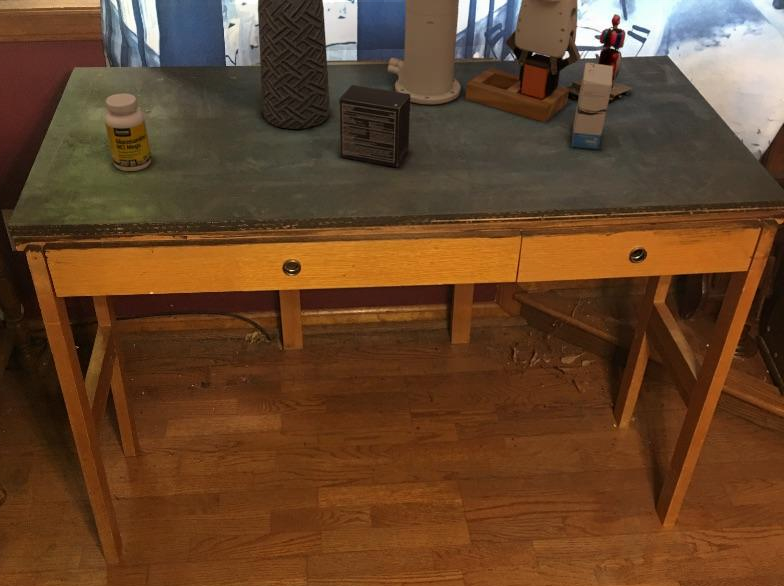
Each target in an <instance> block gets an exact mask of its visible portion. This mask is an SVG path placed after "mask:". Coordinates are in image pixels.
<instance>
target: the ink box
mask: <svg viewBox="0 0 784 586" xmlns="http://www.w3.org/2000/svg"><path fill="white" fill-rule="evenodd" d="M582 73H583V74H582V79H581V80H582V83H581V88H580V93H579V97H577V98H578V99H577V104H576V108H575V114H574V120H573V126H572V135H571V147H572V148H578V149H579V148H580V149H590V150H599V148H600V144H601V140H602V134H603V129H604V125H605V121H606V116H607V111H608V106H609V97H610V92H611V87H612V74H613V66H608V65H601V64H598V63H593V62H586V63H585V64H584V67H583V72H582Z"/></svg>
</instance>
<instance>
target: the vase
mask: <svg viewBox="0 0 784 586" xmlns="http://www.w3.org/2000/svg"><path fill="white" fill-rule="evenodd" d="M257 22H258V40H259V41H258V42H259V45H258V46H259V65H260V67H259V68H260V87H261V90H260V91H261V107H262V114H263V118H264V119H265V121H267V122H268V123H269V124H271V125H273V126H275V127H279V128H282V129H283V128H284V129H290V130H291V129H292V130H293V129H294V130H297V129H298V130H301V129H308V128H312V127H315V126H316V127H317V126H318V125H321V124H322V123H324V122H325V121H326V120H328V118H329V115H330V111H331V106H330V87H329V73H328V71H329V70H328V57H327V41H326V39H327V38H326V24H325V9H324V1H323V0H257Z"/></svg>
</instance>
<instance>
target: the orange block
mask: <svg viewBox="0 0 784 586" xmlns="http://www.w3.org/2000/svg"><path fill="white" fill-rule="evenodd" d="M548 73H550V56H546V55H541V54H537V53H533V55H532V56H531V57H530V58H529V59H527V60H526V61H525V66H524V75H523V83H522V91H521V93H522V94H526V95H530V96H533V97H537V98H541V99H543V98H544V97H546V96H547V95H545V89H546V82H547V75H548Z"/></svg>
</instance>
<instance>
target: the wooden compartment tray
mask: <svg viewBox="0 0 784 586" xmlns="http://www.w3.org/2000/svg"><path fill="white" fill-rule="evenodd" d="M519 75H520V74H516V73H512V72H509V71H505V70H501V69H498V68H494V67H489V68H487V69H486V70H485V71H483V72H481V73H479V75H477V76H475V77H474V78H472V79H471V80H470V81H469V82H467V83H466V86H465V100H468V101H471V102H474V103H478V104H481V105H484V106H487V107H491V108H495V109H498V110H501V111H505V112H508V113H511V114H515V115H518V116H522V117H525V118H528V119H532V120H535V121H539V122H542V123H547V122H548V121H549V120H550V119H551V118H552V117H554V116H555V115H556V114H557V113H558V112H560V110H562V109H563V108H564V107H566V105H568V100H569V99H568V98H569V89H567V87H563V86H559V85H558V86H557V89H556V90H554V91H553V92H552V93H551V94H550V95H547V96H546V97H544V98H543V99H541V98H537V97H533V96H530V95H526V94H522V93H521V91H522V88H520V81H519Z"/></svg>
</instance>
